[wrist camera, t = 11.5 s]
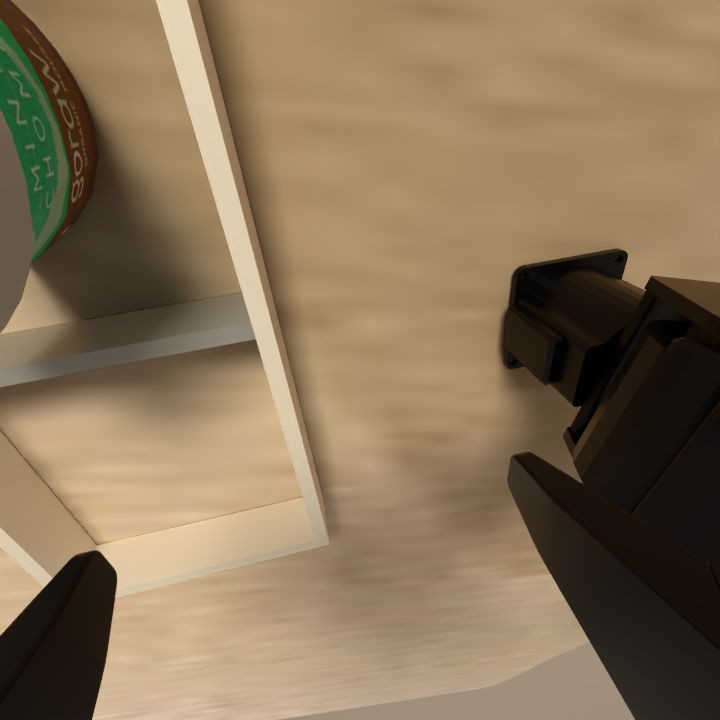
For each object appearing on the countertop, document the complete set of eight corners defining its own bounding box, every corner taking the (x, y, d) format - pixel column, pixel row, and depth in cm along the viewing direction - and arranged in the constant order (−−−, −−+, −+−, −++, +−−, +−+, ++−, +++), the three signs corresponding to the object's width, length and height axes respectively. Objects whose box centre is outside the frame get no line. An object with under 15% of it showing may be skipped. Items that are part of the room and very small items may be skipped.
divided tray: (133, -258, 10) (82, -401, 7) (323, 499, 28) (329, 544, 25) (-607, -237, 9) (-1041, -410, 6) (90, 554, 26) (68, 609, 23)
